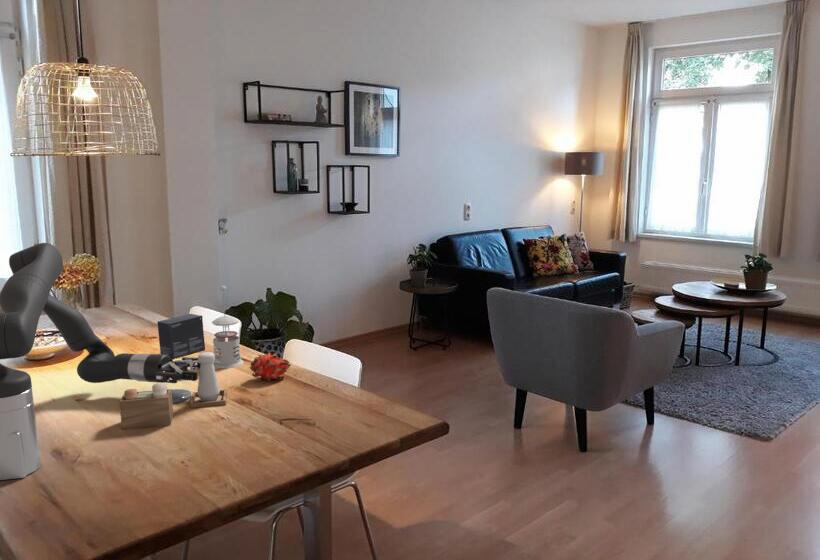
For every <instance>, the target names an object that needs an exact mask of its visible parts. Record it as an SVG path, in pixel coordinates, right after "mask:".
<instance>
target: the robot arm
mask: <svg viewBox="0 0 820 560" xmlns="http://www.w3.org/2000/svg"><path fill="white" fill-rule="evenodd" d="M8 258H9V259H8V265H9V268H10V270H11V272H12V275H11V276H10V277H9V278H8V279H7V280H6V282H5V283H4V285H3V287H2V289H1V290H0V308H1V310H2V312H1V313H0V360H8V359H17V358H22V357H25V356H27V355H29V353H30V352H31V350H32V349H33V347H34V343H35V339H36V335H37V329H38V324H39V321H40V318H41V315H42V312H44V313H45V314H46V315H47V317H48V318H49V319H50V321H51V322H52V323H53V325H54V326H55V327H56V329H57V330H58V332H59V333H60V336H61V337H62V338H63V340H64V341H65V343H66V345H67V346H68V347H69V349H70V350H71V351H72V352H75V353H76V352H77V353H78V352H81V351H84V350H86V352H87V353H88V354H87V355H86V356H85V357H84V358H82V359H81V360H80V362H79V363H78V365H77V367H76V373H77V375H78V377H79V378H80V379H81V380H82V381H84V382H86V383H87V382H88V383H90V384H91V383H92V384H96V383H97V384H101V383H106V382H114V381H116V380H128V381H137V382H147V383H157V384H158V383H165V384H177V383H178V382H183V381H191V382H192V381H194V382H196V381H197V380H199V376H198V375H199V374H198V372H197V371H200V365H201V363H199V362H198V357H186V356H182V357H181V359H175V360H174V359H171V357H170V356H168V355H162V354H160V353H129V352H128V353H119V354H117V355H115V352H114V351H113V350H112V349H111V347H109V346H108V345H107V344H106V343H105V341H103V340H102V339H101V338H100V337H99V336H97V335H96V334H95V333H94V331H93V329H92V327H91V325H90V324H89V323H88V321H87V319H86V317H84V315H83V314H82V312H80V311H79V310H78V309H77V308H75V307H73V306H71V305H70V304H67V303H65V302H63V301H61V300H60V299H58V298H56V297H55V296H54V295H52V294H51V293H50V292H51V290H52V288H53V286H54V284H55V282H56V281H57V280H58V278H59V277H60V276H61V274H62V273H63V271H64V260H63V256H62V254H61V252H60V250H59V249H58V248H57V247H56V246H55V245H53V244H52V243H49V242H40V243H37V244H34V245H32V246H30V247H27V248H24V249H21V250H19V251H17V252H15V253H12V254H11V255H10V256H9V257H8ZM213 365H214V362H213ZM32 384H33V383H32V377H31V375H30V374H29V373H28V372H26V371H23V370H19V369H15V368H13V367H12V368H11V367H9V366H5V365H4V364H2V363H0V481H4V480H11V479H13V480H14V479H24V478H26V477H27V475H29V474H32V473H33V472H36V471H37V470H38V469H39V468H40V467H41V466H42V459H41V452H40V444H39V436H38V428H37V427H38V426H37V420H36V418H37V417H36V412H35V411H36V410H35V403H34V394H33V393H34V392H33V386H32Z"/></svg>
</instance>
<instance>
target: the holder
mask: <svg viewBox="0 0 820 560" xmlns="http://www.w3.org/2000/svg"><path fill="white" fill-rule="evenodd" d="M220 395H223V398H222V400H216V401H210V402H202V401H200V402H195V400H196V397H199V396H198V394H197V391H193V392H192V393H191V397H190V402H189V409H191V408H202V407H203V408H205V407H215V406H226V404H227V398H228V389H220V393H219V395H218V396H220Z"/></svg>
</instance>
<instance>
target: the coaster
mask: <svg viewBox="0 0 820 560" xmlns="http://www.w3.org/2000/svg"><path fill="white" fill-rule="evenodd" d="M191 397H192V393H191V391H190V390H188V389H184V388H183V389H182V388H181V389H179V388H178V389H177V388H176V389H172V402H173V405H174V404H179V403H183V402H185V400H186V401H187V400H189V399H191Z"/></svg>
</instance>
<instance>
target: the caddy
mask: <svg viewBox="0 0 820 560" xmlns="http://www.w3.org/2000/svg"><path fill="white" fill-rule="evenodd" d="M151 387H152V390H146V391H145V390H143V391H138V390H137V389H136V388H131V389H126V390H124V393H123V394H122V396H121V398H120V400H119V411H120V412H119V413H120V422H121V430H130V429H140V428H141V429H142V428H149V427H151V428H152V427H161V426H162V427H163V426H170V425H172V421H173V418H174V404H173V402H172V390H173V389H172V388H171V389H170V388H169V389H167V387H168V386H167V383H158V382H157V383H155V384H153V385H152V386H151Z"/></svg>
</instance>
